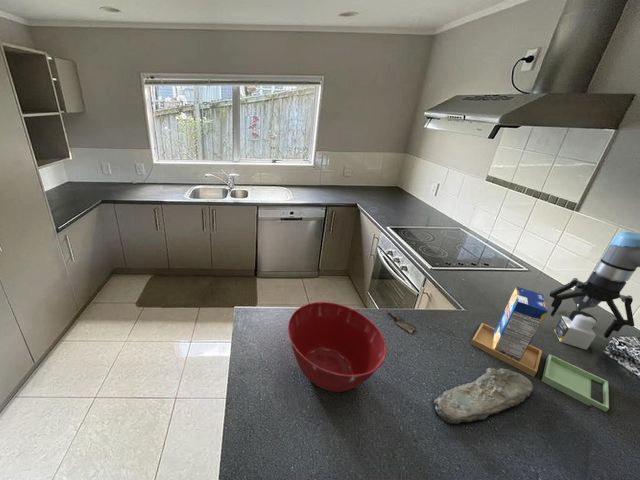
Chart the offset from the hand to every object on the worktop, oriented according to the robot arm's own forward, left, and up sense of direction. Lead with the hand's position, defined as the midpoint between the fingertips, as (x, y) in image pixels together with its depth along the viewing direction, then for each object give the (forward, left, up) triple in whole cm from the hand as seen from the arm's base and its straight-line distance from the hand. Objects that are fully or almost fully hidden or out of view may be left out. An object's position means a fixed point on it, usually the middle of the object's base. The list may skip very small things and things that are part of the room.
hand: (577, 324), depth 102 cm
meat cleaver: (+44, +42, -7) cm, 61 cm away
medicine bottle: (0, 0, -7) cm, 7 cm away
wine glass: (0, -17, -7) cm, 18 cm away
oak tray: (+15, +26, -7) cm, 31 cm away
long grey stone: (+15, +55, -7) cm, 57 cm away
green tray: (-2, +26, -7) cm, 27 cm away
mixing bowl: (+50, +82, -7) cm, 96 cm away
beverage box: (+15, +26, -7) cm, 31 cm away
